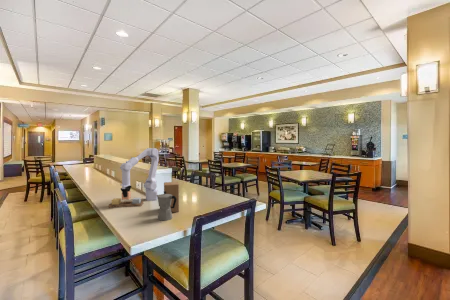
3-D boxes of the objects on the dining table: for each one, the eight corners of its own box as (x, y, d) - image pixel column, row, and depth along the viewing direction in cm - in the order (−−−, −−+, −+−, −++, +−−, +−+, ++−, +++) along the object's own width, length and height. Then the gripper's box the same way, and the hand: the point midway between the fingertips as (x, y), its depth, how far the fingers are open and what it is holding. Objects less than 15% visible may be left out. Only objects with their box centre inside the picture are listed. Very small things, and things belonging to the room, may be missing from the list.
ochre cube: (120, 204, 173) (120, 198, 173) (118, 206, 168) (118, 199, 168) (114, 204, 173) (113, 198, 172) (111, 206, 168) (111, 200, 168)
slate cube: (140, 203, 176) (140, 197, 175) (139, 205, 171) (139, 199, 170) (134, 204, 175) (134, 197, 175) (132, 206, 170) (132, 199, 170)
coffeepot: (152, 219, 144) (151, 191, 143) (161, 214, 153) (160, 188, 152) (172, 222, 139) (172, 194, 138) (180, 217, 147) (180, 190, 146)
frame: (143, 204, 177) (143, 200, 177) (141, 207, 169) (140, 203, 169) (112, 205, 174) (112, 202, 174) (108, 208, 166) (108, 205, 166)
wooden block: (164, 213, 156) (164, 185, 155) (164, 209, 165) (163, 182, 164) (178, 212, 158) (178, 184, 157) (178, 208, 168) (177, 181, 167)
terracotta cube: (124, 197, 174) (123, 191, 173) (130, 197, 174) (130, 191, 174) (121, 199, 169) (121, 193, 168) (128, 199, 169) (128, 192, 169)
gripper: (123, 177, 177) (123, 194, 178) (117, 180, 163) (117, 198, 164) (132, 177, 178) (133, 193, 179) (127, 180, 164) (127, 198, 165)
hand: (126, 196), depth 171 cm, fingers closed on terracotta cube, 5 cm apart
